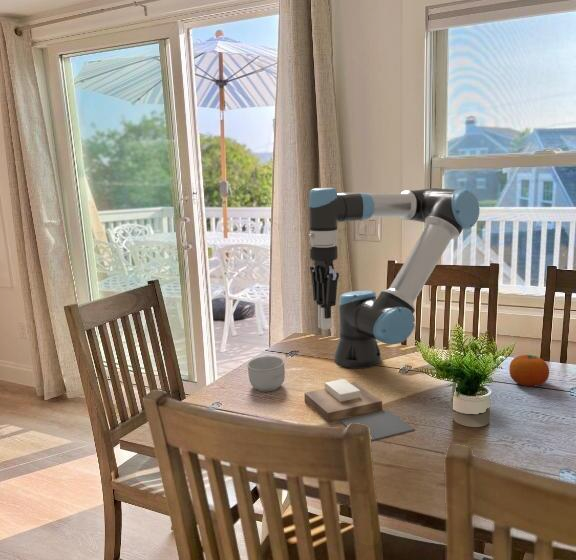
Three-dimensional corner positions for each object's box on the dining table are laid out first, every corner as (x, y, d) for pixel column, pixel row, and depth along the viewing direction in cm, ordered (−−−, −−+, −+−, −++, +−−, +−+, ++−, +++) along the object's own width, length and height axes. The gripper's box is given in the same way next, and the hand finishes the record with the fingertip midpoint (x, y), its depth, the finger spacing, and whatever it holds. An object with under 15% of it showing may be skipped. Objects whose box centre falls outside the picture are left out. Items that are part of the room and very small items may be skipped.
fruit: (533, 394, 154) (535, 366, 152) (501, 382, 162) (502, 356, 161) (555, 385, 159) (557, 358, 158) (523, 374, 168) (525, 348, 166)
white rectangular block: (343, 385, 157) (343, 378, 156) (360, 397, 149) (360, 390, 148) (324, 389, 154) (324, 382, 154) (340, 401, 146) (340, 394, 146)
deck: (355, 390, 159) (355, 382, 159) (382, 409, 147) (382, 400, 146) (304, 401, 153) (304, 392, 153) (328, 422, 140) (327, 413, 140)
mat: (387, 410, 146) (387, 409, 146) (414, 429, 135) (414, 428, 135) (340, 421, 141) (340, 420, 141) (365, 442, 130) (365, 441, 130)
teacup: (280, 396, 157) (280, 369, 155) (243, 394, 159) (242, 367, 157) (290, 377, 170) (289, 352, 169) (256, 375, 172) (255, 351, 171)
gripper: (300, 243, 157) (301, 323, 162) (323, 249, 144) (324, 336, 149) (323, 241, 160) (324, 319, 165) (348, 247, 147) (348, 332, 152)
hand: (324, 327), depth 157 cm, fingers closed
